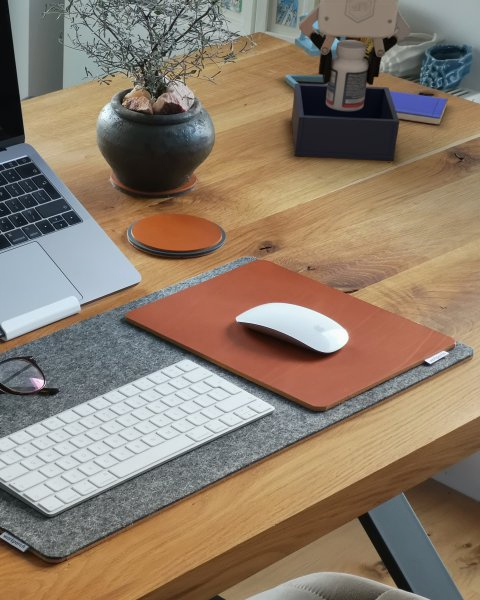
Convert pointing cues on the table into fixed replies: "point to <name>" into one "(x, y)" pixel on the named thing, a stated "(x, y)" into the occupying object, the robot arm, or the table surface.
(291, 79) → the chair
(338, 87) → the pill bottle
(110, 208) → the table surface
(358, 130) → the bin
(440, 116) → the blue book
